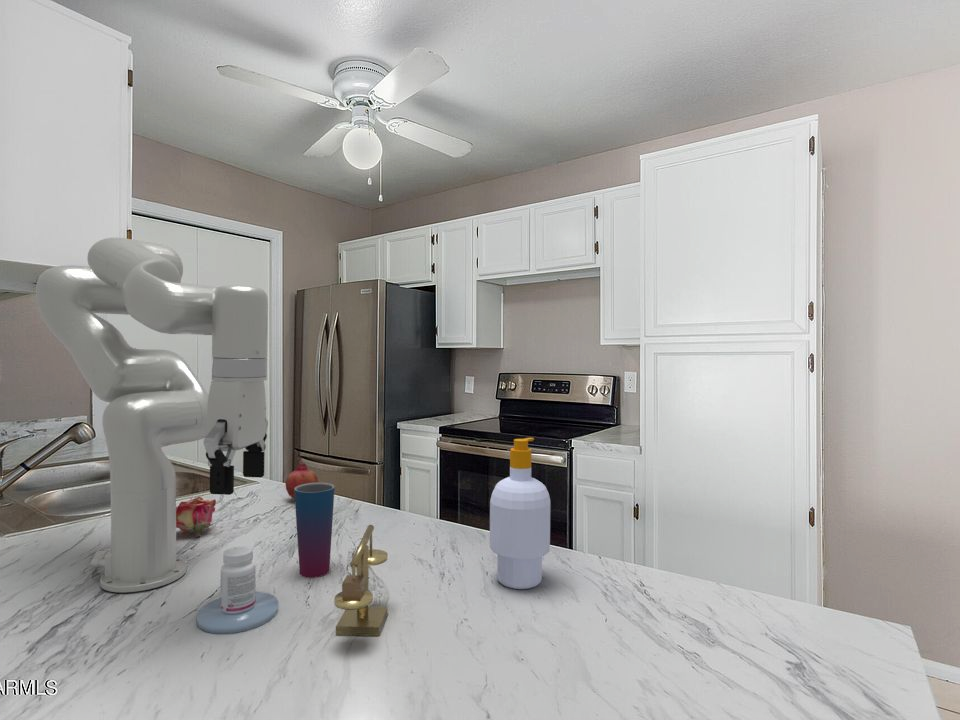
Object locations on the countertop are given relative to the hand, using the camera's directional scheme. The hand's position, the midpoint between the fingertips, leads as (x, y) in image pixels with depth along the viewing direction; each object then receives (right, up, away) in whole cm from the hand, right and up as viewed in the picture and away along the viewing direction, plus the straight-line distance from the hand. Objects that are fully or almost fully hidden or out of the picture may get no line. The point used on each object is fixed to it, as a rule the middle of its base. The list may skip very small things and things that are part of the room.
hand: (238, 484), depth 83 cm
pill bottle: (0, -18, 0) cm, 18 cm away
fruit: (-10, -18, +60) cm, 63 cm away
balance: (+19, -19, -3) cm, 27 cm away
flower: (-25, -18, +34) cm, 46 cm away
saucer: (0, -19, -1) cm, 19 cm away
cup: (+7, -19, +15) cm, 25 cm away
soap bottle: (+43, -19, +12) cm, 48 cm away
